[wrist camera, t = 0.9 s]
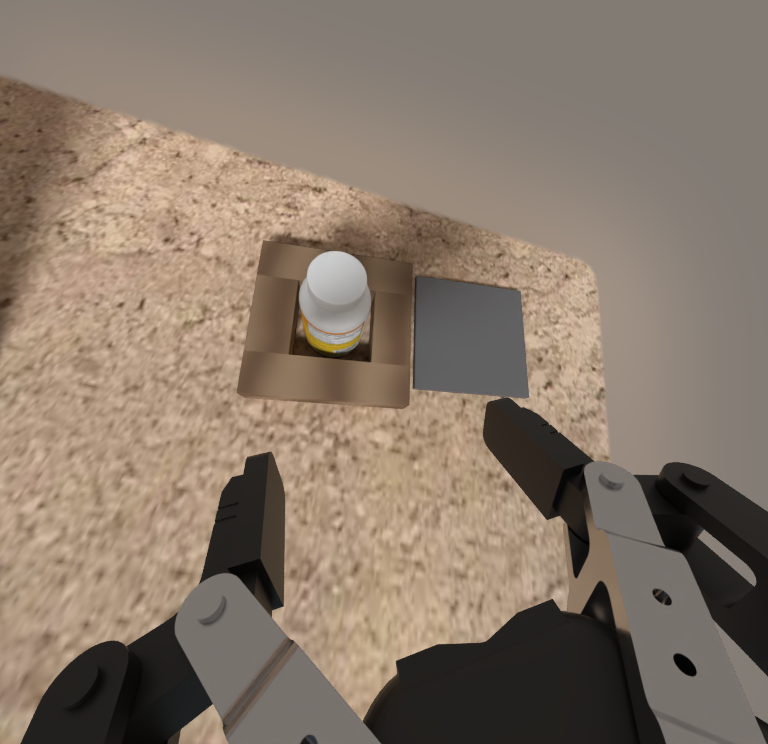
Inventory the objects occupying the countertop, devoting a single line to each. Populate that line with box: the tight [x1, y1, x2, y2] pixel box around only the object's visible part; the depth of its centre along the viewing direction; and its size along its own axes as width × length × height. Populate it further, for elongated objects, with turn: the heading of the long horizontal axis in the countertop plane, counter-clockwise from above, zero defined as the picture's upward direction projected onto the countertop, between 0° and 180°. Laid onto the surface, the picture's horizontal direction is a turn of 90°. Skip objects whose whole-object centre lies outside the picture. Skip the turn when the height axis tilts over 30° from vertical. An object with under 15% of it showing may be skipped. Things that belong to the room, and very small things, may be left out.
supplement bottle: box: [299, 251, 371, 357], centre depth 24 cm, size 5×5×10 cm
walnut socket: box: [237, 240, 412, 409], centre depth 28 cm, size 14×14×2 cm
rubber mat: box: [413, 276, 529, 398], centre depth 31 cm, size 12×12×1 cm
